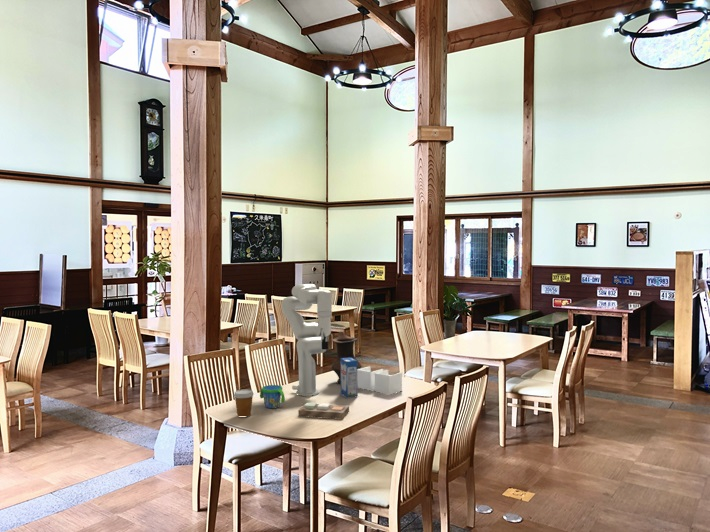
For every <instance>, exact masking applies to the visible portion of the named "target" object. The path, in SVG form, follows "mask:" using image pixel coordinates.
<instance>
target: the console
mask: <svg viewBox="0 0 710 532" xmlns="http://www.w3.org/2000/svg"><path fill="white" fill-rule="evenodd" d="M319 404H320V403H317V407H316V408H315V409H306V408H304V405H302V406H301V407H300V408H299V409H298V411H297V414H298V417H301V416H309V417H308V418H318V417H322V419H335V418H336V419H335V420H338V419H339V420H344V419H345V418H346V416H347V415H348V412H349V413H350V406H349V405H345V404H330V408H329V409H328V410H321V409H318V405H319ZM334 406H336V407H344V409H343V410H342V411H339V410H331V409H332V408H333V407H334Z"/></svg>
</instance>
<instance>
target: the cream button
mask: <svg viewBox="0 0 710 532" xmlns="http://www.w3.org/2000/svg"><path fill="white" fill-rule="evenodd" d="M318 404H319V405H318V409H321V410H328V409H329V408H330V405H331V403H326V402H325V403H324V402H323V403H318Z"/></svg>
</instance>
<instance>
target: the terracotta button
mask: <svg viewBox="0 0 710 532" xmlns="http://www.w3.org/2000/svg"><path fill="white" fill-rule="evenodd" d="M343 409H344V407H336V406H334V407H333V408H332V409H331V410H339V411H342V410H343Z"/></svg>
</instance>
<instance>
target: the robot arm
mask: <svg viewBox="0 0 710 532" xmlns="http://www.w3.org/2000/svg"><path fill="white" fill-rule="evenodd" d="M291 295H292V296H287V297H285V298H283V299H282V301H281V310H282V313H283V315H284V317H285V319H286V320H287V321H288V323H289V325H290V328H291V331H292V334H293V336H294V337H295V339H296V340H297V342H296V352H297V358H298V359H297V360H298V385H292V386H291V388H292V390H296V393H295V394H296V395H297V394H298V396H299V395H302V396H301V397H311V396H312V395H313V396H317V395H319V389H317V388H316V387H317V381H316V380H317V376H316V375H317V372H316V367H317V366H316V361H315V358H314V357H313V356H312V355H317V354H323V353H325V352H327V350H328V349H329V336H330V335H331V333H332V323H331V320H332V319H331V318H333V315H332V314H333V309H332V308H333V307H332V304H333V303H332V301H333V300H332V292H331V291H330V290H327V289H321V288H320V289H318V288H317V286H316V285H315V284H313V283H305V284H304V283H299V284H295V286H293V287H292V289H291ZM315 304H317V305H316V307H317V310H316V311H317V314H316V315H317V322H314V321H313V322H305V319H304V317H303V316H302V315H301V314H300V313H299V312H298V311H308V310H310V309H311V307H312V306H313V305H315ZM313 396H312V397H313Z"/></svg>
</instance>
